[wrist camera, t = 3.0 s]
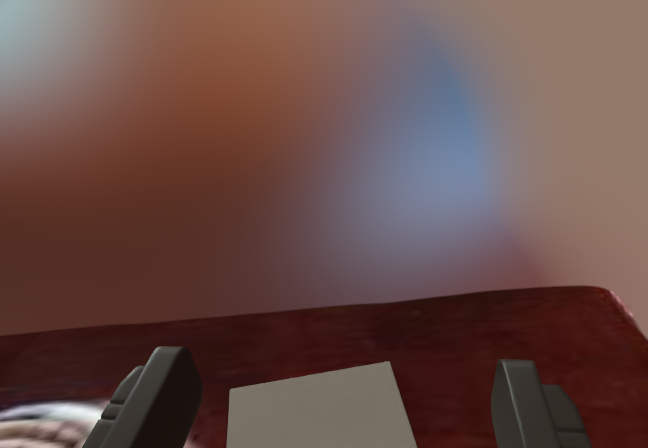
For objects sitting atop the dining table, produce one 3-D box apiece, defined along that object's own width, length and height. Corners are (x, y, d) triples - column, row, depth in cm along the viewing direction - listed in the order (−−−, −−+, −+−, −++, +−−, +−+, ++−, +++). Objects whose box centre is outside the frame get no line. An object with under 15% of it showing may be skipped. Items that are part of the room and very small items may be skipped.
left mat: (223, 527, 33) (222, 523, 33) (231, 392, 43) (229, 388, 43) (428, 487, 34) (429, 484, 34) (389, 364, 44) (389, 361, 44)
